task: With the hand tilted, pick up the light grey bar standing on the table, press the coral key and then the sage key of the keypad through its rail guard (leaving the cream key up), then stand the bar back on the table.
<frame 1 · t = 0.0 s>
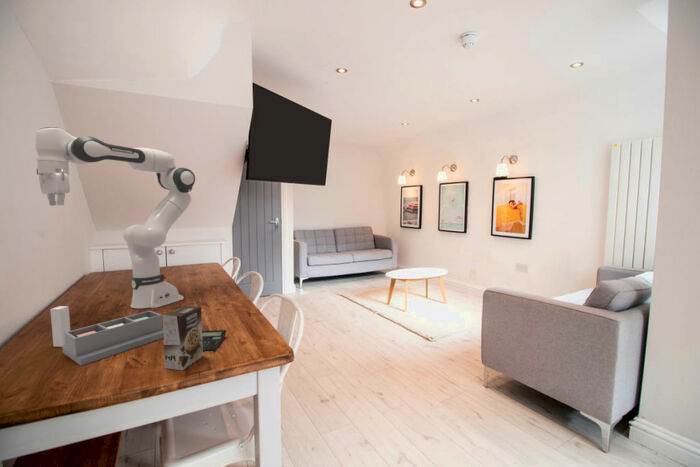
hand: (56, 205, 122), 48 cm above the table, tool pointing down, fingers open, 8 cm apart
key cream: (117, 329, 107), point 5 cm above the table, slide at 0.0 cm
keypad: (118, 344, 107), on the table
calculator: (207, 345, 107), on the table
key coral: (88, 337, 100), point 5 cm above the table, slide at 0.0 cm
light grey bar: (62, 344, 107), on the table
key sage: (142, 322, 114), point 5 cm above the table, slide at 0.0 cm
coffee box: (185, 362, 94), on the table
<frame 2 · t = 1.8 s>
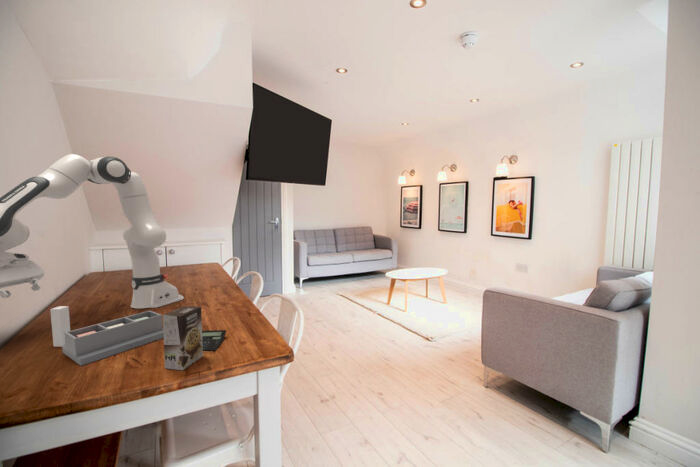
hand: (23, 292, 106), 18 cm above the table, tool tilted 45°, fingers open, 8 cm apart
nothing on the table moved.
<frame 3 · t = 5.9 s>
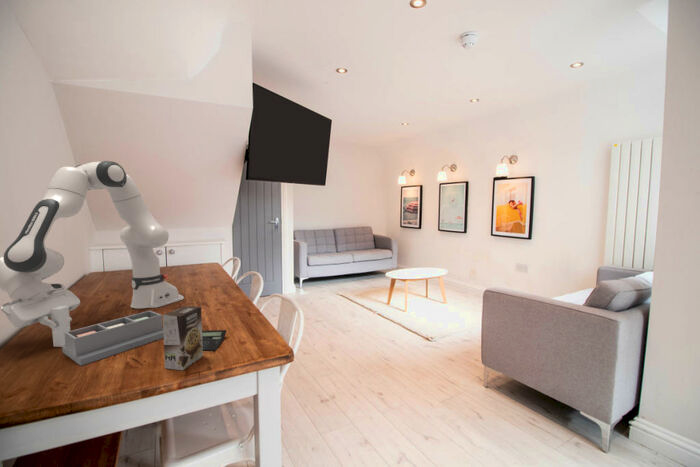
hand: (62, 324, 107), 7 cm above the table, tool tilted 45°, fingers closed on light grey bar, 3 cm apart
light grey bar: (62, 344, 107), on the table, touching gripper
everything else where it was.
when the fingers open (9 cm above the table, at t = 19.9 s): light grey bar drops 2 cm, on the table.
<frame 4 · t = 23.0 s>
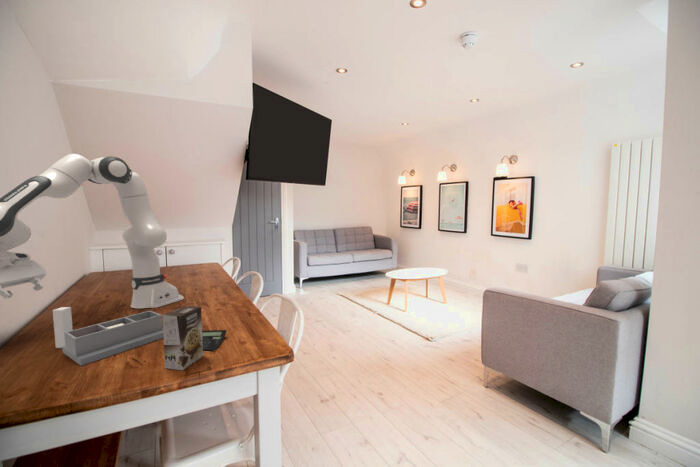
hand: (25, 292, 105), 18 cm above the table, tool tilted 45°, fingers open, 8 cm apart
key coral: (88, 342, 100), point 3 cm above the table, slide at -1.7 cm
light grey bar: (64, 345, 106), on the table
key sage: (143, 326, 114), point 4 cm above the table, slide at -1.7 cm
everything else where it was.
at the end: key coral slide at -1.7 cm; key sage slide at -1.7 cm; key cream slide at 0.0 cm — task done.
